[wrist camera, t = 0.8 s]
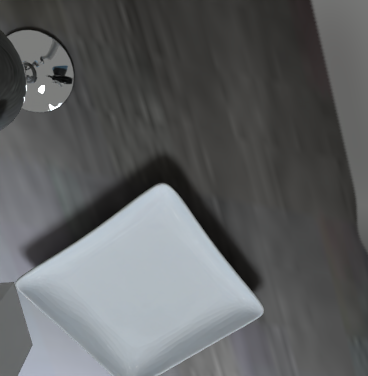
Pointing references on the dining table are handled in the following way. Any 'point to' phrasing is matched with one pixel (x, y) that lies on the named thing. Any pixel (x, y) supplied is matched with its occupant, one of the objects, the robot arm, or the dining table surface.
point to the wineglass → (32, 74)
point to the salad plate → (143, 288)
